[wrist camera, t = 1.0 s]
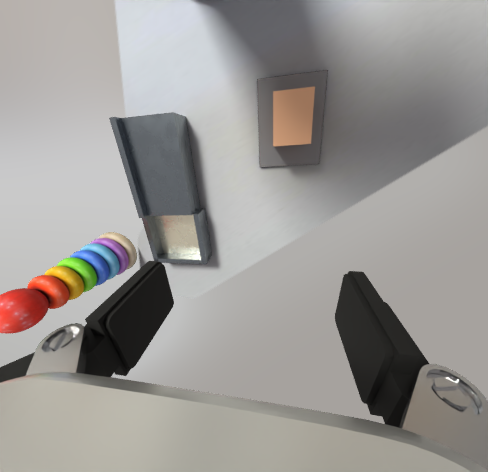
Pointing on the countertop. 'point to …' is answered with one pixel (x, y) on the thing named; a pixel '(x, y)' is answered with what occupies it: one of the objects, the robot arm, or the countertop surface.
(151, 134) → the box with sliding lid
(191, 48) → the countertop surface
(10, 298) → the stacking toy
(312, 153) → the mat
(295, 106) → the tan cardboard box
